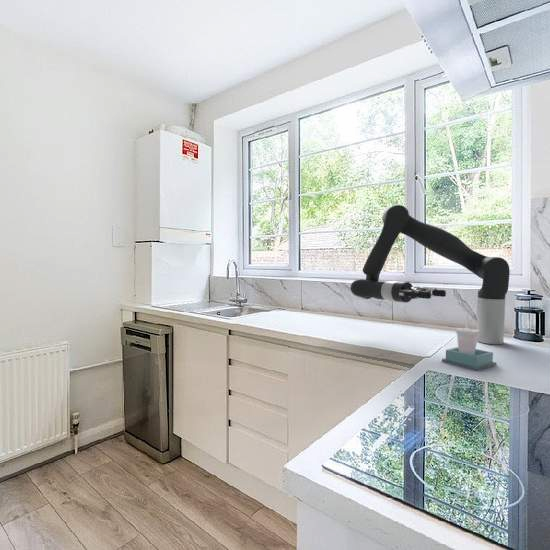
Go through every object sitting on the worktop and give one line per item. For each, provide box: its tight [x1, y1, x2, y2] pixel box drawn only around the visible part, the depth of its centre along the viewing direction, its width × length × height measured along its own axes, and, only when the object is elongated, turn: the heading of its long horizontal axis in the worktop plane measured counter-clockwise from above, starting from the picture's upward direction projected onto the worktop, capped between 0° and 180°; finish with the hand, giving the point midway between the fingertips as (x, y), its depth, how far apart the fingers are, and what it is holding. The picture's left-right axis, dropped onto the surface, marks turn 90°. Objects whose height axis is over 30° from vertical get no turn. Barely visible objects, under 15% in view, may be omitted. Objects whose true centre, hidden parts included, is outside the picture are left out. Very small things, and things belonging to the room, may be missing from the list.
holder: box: [441, 346, 497, 372], centre depth 108 cm, size 11×11×4 cm
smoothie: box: [455, 315, 479, 355], centre depth 107 cm, size 6×6×14 cm
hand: (437, 294), depth 116 cm, fingers open, 8 cm apart
